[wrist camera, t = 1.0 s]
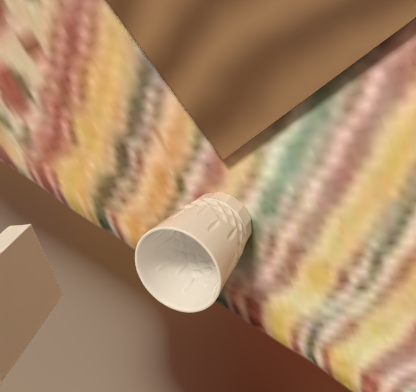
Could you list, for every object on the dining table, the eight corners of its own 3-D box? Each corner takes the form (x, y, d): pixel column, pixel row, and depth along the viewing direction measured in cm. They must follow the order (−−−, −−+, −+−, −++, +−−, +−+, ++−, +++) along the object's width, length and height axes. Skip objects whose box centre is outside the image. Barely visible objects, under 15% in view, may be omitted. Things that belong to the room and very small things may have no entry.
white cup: (259, 260, 39) (224, 320, 31) (191, 251, 42) (142, 303, 34) (256, 187, 36) (216, 232, 28) (183, 183, 40) (127, 222, 31)
